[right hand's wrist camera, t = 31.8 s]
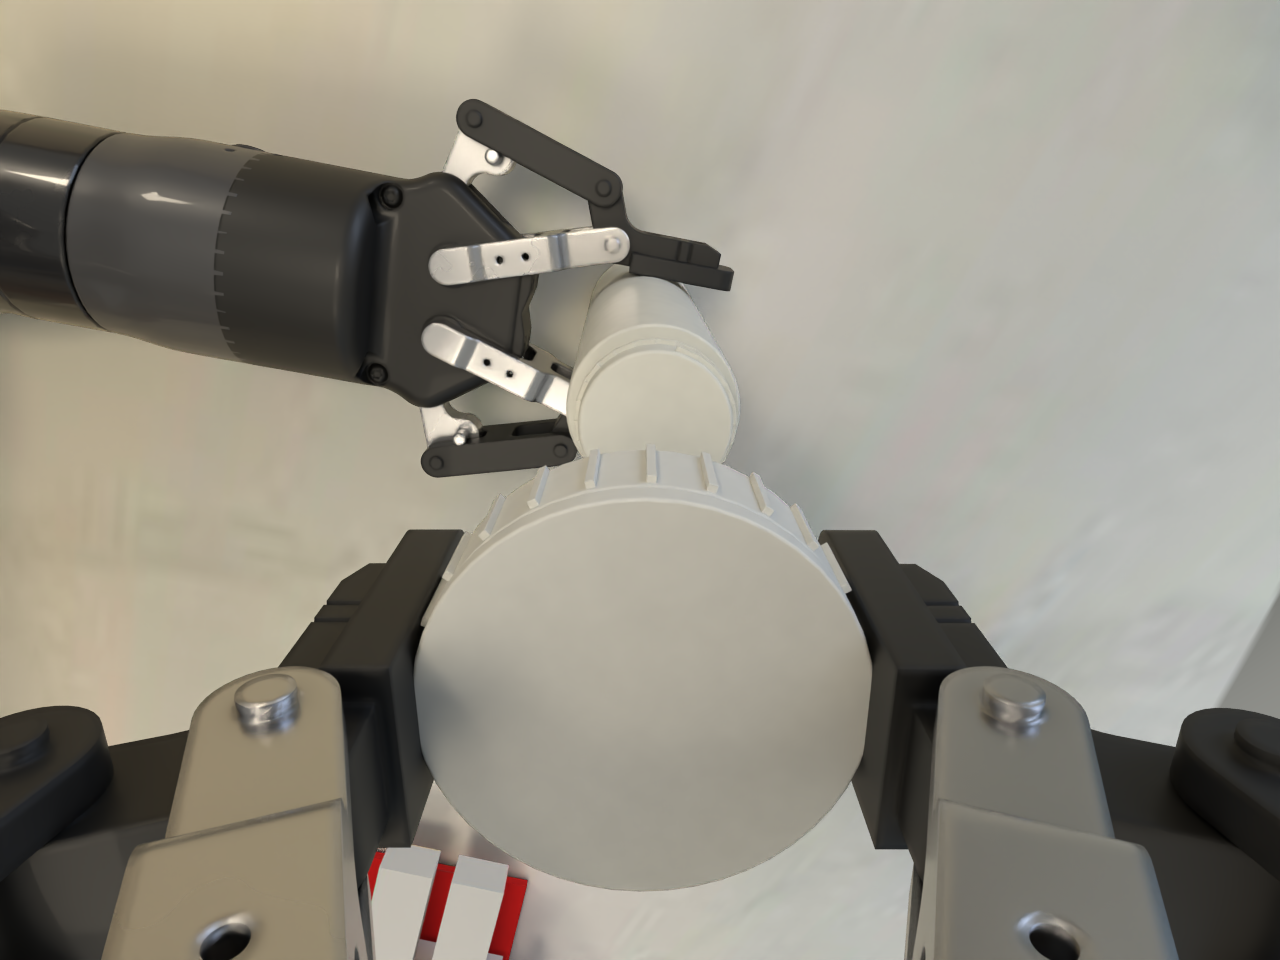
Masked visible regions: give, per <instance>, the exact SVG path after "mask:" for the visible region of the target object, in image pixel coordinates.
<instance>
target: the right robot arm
mask: <svg viewBox="0 0 1280 960" xmlns="http://www.w3.org/2000/svg"><path fill="white" fill-rule="evenodd" d="M463 535H464V532H463V531H462V530H408V531H407V532H406V534H405V535H404V537H403V538H402V540H401V541H400V543H399V544H398V546H397V547H396V549H395V550H394V552H393V554H392V555H391V557H390V558H389V560H388V561H387V563H369V564H368V565H366V566H364V567H363V568H361V569H360V570H358V571H356V572H355V573H353V574H352V575H350V576H348V577H347V578H345V579H344V580H342V581H341V582H340V584H339V585H338V586H337V588H336V589H335V590H334V592H333V593H332V595H331V596H330V597H329V599H328V600H327V605H323V607H322V608H321V610H320V611H319V612H318V614H317V615H316V616H315V618H314V622H311V623H310V625H309V626H308V627H307V629H306V630H305V631H304V633H303V634H302V635H301V637H300V638H299V639H298V641H297V642H296V644H295V645H294V646H293V648H292V649H291V650H290V652H289V653H288V654H287V656H286V657H285V659H284V660H283V661H282V663H281V664H280V665H279V667H278V668H271V669H266V670H262V671H258V672H255V673H251V674H248V675H245V676H243V677H240V678H238V679H235V680H233V681H231V682H229V683H227V684H225V685H224V686H222V687H220V688H219V689H217V690H215V691H214V692H213V693H212V694H210V695H209V696H208V697H206V698H205V699H204V700H203V702H202V703H201V704H200V705H199V706H198V708H197V709H196V710H195V712H194V715H193V717H192V720H191V725H190V729H189V730H187V731H183V732H179V733H174V734H170V735H165V736H160V737H154V738H149V739H144V740H139V741H134V742H129V743H123V744H118V745H113V746H108V744H107V741H106V737H105V733H104V730H103V726H102V723H101V720H100V718H99V717H98V716H97V715H96V714H95V713H94V712H92V711H90V710H88V709H85V708H81V707H75V706H51V707H42V708H36V709H31V710H26V711H22V712H19V713H15V714H11V715H8V716H5V717H2V718H0V960H376V954H375V941H374V928H373V916H372V903H371V892H370V885H369V879H368V872H369V869H370V867H371V864H372V861H373V859H374V856H375V854H376V851H377V849H378V848H411V845H412V842H413V839H414V836H415V834H416V831H417V828H418V825H419V822H420V819H421V816H422V813H423V810H424V807H425V804H426V801H427V798H428V795H429V792H430V789H431V786H432V783H433V781H434V778H433V776H432V774H431V772H430V770H429V768H428V766H427V764H426V762H425V760H424V757H423V754H422V750H421V742H420V734H419V725H418V716H417V706H416V697H415V688H414V676H413V671H414V661H415V656H416V653H417V649H418V646H419V643H420V639H421V636H422V633H423V630H424V628H425V627H423V626H421V620H422V617H423V615H424V613H425V611H426V609H427V607H428V605H429V603H430V601H431V599H432V597H433V595H434V593H435V591H436V589H437V587H438V585H439V583H440V581H441V579H442V576H443V574H444V572H445V570H446V568H447V566H448V564H449V562H450V560H451V558H452V556H453V554H454V552H455V550H456V548H457V546H458V544H459V542H460V540H461V538H462V536H463ZM818 542H819V544H820V545H822V544H824V543H828V545H829V547H830V549H831V551H832V553H833V555H834V556H835V558H836V560H837V562H838V564H839V566H840V568H841V570H842V572H843V574H844V576H845V578H846V580H847V582H848V583H849V585H850V587H851V589H852V590H851V591H850V592H848V593H846V596H847V599H848V600H849V602H850V604H851V606H852V608H853V610H854V612H855V615H856V617H857V619H858V621H859V623H860V625H861V627H862V629H863V631H864V635H865V637H866V641H867V645H868V649H869V653H870V656H871V660H872V681H871V691H870V700H869V709H868V718H867V727H866V736H865V745H864V751H863V756H862V759H861V762H860V764H859V767H858V768H857V770H856V772H855V774H854V776H853V778H852V780H851V781H852V784H853V787H854V790H855V793H856V795H857V798H858V801H859V804H860V807H861V810H862V813H863V816H864V818H865V821H866V824H867V827H868V830H869V833H870V836H871V839H872V841H873V844H874V847H875V849H909V852H910V854H911V857H912V859H913V862H914V865H913V872H912V879H911V885H910V892H909V903H908V916H907V928H906V941H905V954H904V960H1280V719H1277V718H1274V717H1271V716H1268V715H1264V714H1260V713H1256V712H1251V711H1246V710H1240V709H1231V708H1211V709H1203V710H1200V711H1196V712H1194V713H1192V714H1190V715H1188V716H1187V717H1186V718H1185V719H1184V721H1183V723H1182V726H1181V729H1180V733H1179V737H1178V740H1177V744H1176V747H1172V746H1167V745H1162V744H1157V743H1151V742H1146V741H1141V740H1136V739H1131V738H1126V737H1121V736H1115V735H1111V734H1107V733H1102V732H1099V731H1095V730H1092V729H1090V725H1089V720H1088V717H1087V715H1086V712H1085V710H1084V709H1083V708H1082V706H1081V705H1080V704H1079V703H1078V702H1077V701H1076V699H1075V698H1074V697H1072V696H1071V695H1070V694H1068V693H1067V692H1066V691H1065V690H1063V689H1061V688H1060V687H1058V686H1056V685H1055V684H1053V683H1051V682H1049V681H1047V680H1045V679H1042V678H1040V677H1037V676H1035V675H1032V674H1029V673H1025V672H1022V671H1018V670H1014V669H1009V668H1007V666H1006V665H1005V664H1004V662H1003V661H1002V660H1001V658H1000V657H999V656H998V654H997V653H996V651H995V650H994V649H993V647H992V646H991V645H990V643H989V642H988V641H987V639H986V638H985V637H984V635H983V634H982V633H981V631H980V630H979V629H978V627H977V626H976V625H975V623H971V618H970V617H969V615H968V614H967V613H966V611H965V610H964V609H963V607H962V606H959V605H958V600H957V599H956V598H955V596H954V595H953V594H952V592H951V591H950V590H949V588H948V587H947V586H946V584H945V583H944V582H943V581H942V580H940V579H939V578H937V577H935V576H934V575H932V574H931V573H929V572H927V571H926V570H924V569H922V568H921V567H919V566H918V565H916V564H899V563H898V562H897V560H896V559H895V557H894V556H893V554H892V553H891V551H890V550H889V548H888V547H887V545H886V544H885V542H884V541H883V539H882V538H881V536H880V535H879V533H878V532H877V531H875V530H823V531H822V532H821V533H820V536H819V540H818Z"/></svg>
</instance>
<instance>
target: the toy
mask: <svg viewBox="0 0 1280 960" xmlns="http://www.w3.org/2000/svg"><path fill="white" fill-rule="evenodd" d="M440 854H441V851H440V850H435V849H431V848H426V847H421V846H417V845H411V848H387V850H386V852H385V853H380V852H376V854H375V856H374V859H373V861H372V864H371V867H370V869H369V872H368V879H369V885H370V892H371V903H372V916H373V928H374V941H375V954H376V960H509V956H510V952H511V948H512V944H513V940H514V936H515V932H516V928H517V924H518V919H519V915H520V911H521V907H522V903H523V899H524V895H525V891H526V887H527V880H524V879H519V878H513V877H508V876H507V874H508V868H509V865H506V864H501V863H497V862H492V861H487V860H482V859H478V858H473V857H468V856H464V855H459V857H458V861H457V864H456V867H455V866H449V865H444V864H439V863H438V862H439V858H440Z"/></svg>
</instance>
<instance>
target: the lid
mask: <svg viewBox="0 0 1280 960" xmlns="http://www.w3.org/2000/svg"><path fill="white" fill-rule="evenodd" d="M851 590H852V589H851V587H850V585H849V583H848V582H847V580H846V578H845V576H844V574H843V572H842V570H841V568H840V566H839V564H838V562H837V560H836V558H835V556H834V555H833V553H832V551H831V549H830V547H829V545H828V543H824V544H822V545H820V544H819V542H818V541H817V539H816V537H815V536H814V534H813V532H812V530H811V528H810V526H809V524H808V522H807V520H806V518H805V516H804V514H803V512H802V509H801V508H800V507H799V506H798V505H797V504H796V503H795V504H794V505H793V506H791V507H790V506H789V505H787V504H786V503H785V502H784V501H783V500H782V499H781V498H780V497H778V496H777V495H776V494H775V493H774V492H772V491H771V490H769V489H768V488H766V487H765V486H764V484H763V482H762V479H761V477H760V476H759V475H758V474H756V473H754V472H753V473H752V474H751V475H750V477H749V476H747V475H745V474H742V473H740V472H738V471H736V470H734V469H732V468H730V467H728V466H725V465H722V464H720V463H717V462H714V461H712V459H711V455H710V454H709V453H705V452H701V455H700V457H697V456H692V455H687V454H682V453H677V452H670V451H656V450H655V444H646V450H630V451H615V452H610V453H604V454H600V450H599V448H597V449H593V450H590V454H589V456H588V457H585V458H582V459H578V460H575V461H572V462H569V463H566V464H562V465H560V466H558V467H556V468H554V469H552V470H549V469H548V468H547V466H546V465H545V466H543V467H541V468H539V469H538V472H537V474H536V477H535V478H534V479H532V480H530V481H529V482H527V483H526V484H524V485H522V486H521V487H519V488H518V489H516V490H515V491H513V492H512V493H511V494H510V495H509V496H507V497H506V498H505V497H504V496H503V495H502V494H499V495H498V496H497V497H496V498H495V499H494V501H493V504H492V506H491V508H490V510H489V512H488V514H487V516H486V517H485V519H484V520H483V521H482V522H481V523H480V524H479V525H478V526H477V528H476V529H475V531H474V532H473V534H470V533H469V532H467V531H466V532H465V533H464V535H463V536H462V538H461V540H460V542H459V544H458V546H457V548H456V550H455V552H454V554H453V556H452V558H451V560H450V562H449V564H448V566H447V568H446V570H445V572H444V574H443V576H442V579H441V581H440V583H439V585H438V587H437V589H436V591H435V593H434V595H433V597H432V599H431V601H430V603H429V605H428V607H427V609H426V611H425V613H424V615H423V617H422V620H421V626H423V627H425V628H424V630H423V633H422V636H421V639H420V643H419V646H418V649H417V653H416V656H415V661H414V671H413V676H414V688H415V697H416V706H417V716H418V725H419V734H420V742H421V750H422V754H423V757H424V760H425V762H426V764H427V766H428V768H429V770H430V772H431V774H432V776H433V778H434V780H435V782H436V784H437V785H438V787H439V788H440V790H441V791H442V793H443V794H444V795H445V797H446V798H447V800H448V801H449V803H450V804H451V805H452V806H453V808H454V809H455V810H456V811H457V812H458V813H459V814H460V815H461V816H462V818H463V819H464V820H465V821H466V822H467V823H468V824H469V825H470V826H471V827H472V828H474V829H475V830H476V831H477V832H478V833H479V834H480V835H482V836H483V837H484V838H485V839H486V840H487V841H489V842H490V843H492V844H493V845H495V846H496V847H498V848H499V849H501V850H502V851H504V852H505V853H506V854H508V855H509V856H511V857H513V858H515V859H517V860H519V861H521V862H523V863H525V864H527V865H528V866H530V867H532V868H534V869H537V870H539V871H542V872H545V873H547V874H550V875H552V876H555V877H557V878H560V879H564V880H568V881H571V882H575V883H579V884H582V885H587V886H593V887H599V888H605V889H611V890H625V891H663V890H673V889H680V888H687V887H694V886H698V885H703V884H707V883H711V882H715V881H719V880H722V879H725V878H728V877H730V876H733V875H736V874H739V873H741V872H744V871H747V870H749V869H751V868H753V867H755V866H757V865H759V864H761V863H763V862H765V861H767V860H769V859H771V858H773V857H774V856H776V855H777V854H779V853H781V852H782V851H784V850H785V849H787V848H788V847H790V846H791V845H793V844H794V843H796V842H797V841H798V840H799V839H800V838H802V837H803V836H804V835H805V834H807V833H808V832H809V831H810V830H811V829H813V828H814V827H815V826H816V825H817V824H818V823H819V822H820V821H821V819H822V818H823V817H824V816H825V815H826V814H827V813H828V812H829V811H830V810H831V809H832V808H833V806H834V805H835V804H836V802H837V801H838V799H839V798H840V797H841V795H842V794H843V793H844V791H845V790H846V789H847V787H848V785H849V783H850V781H851V780H852V778H853V776H854V774H855V772H856V770H857V768H858V767H859V764H860V762H861V759H862V756H863V751H864V745H865V736H866V727H867V718H868V709H869V700H870V691H871V681H872V660H871V656H870V653H869V649H868V645H867V641H866V637H865V635H864V631H863V629H862V627H861V625H860V623H859V621H858V619H857V617H856V615H855V612H854V610H853V608H852V606H851V604H850V602H849V600H848V599H847V596H846V593H848V592H850V591H851Z"/></svg>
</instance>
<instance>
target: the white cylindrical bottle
mask: <svg viewBox="0 0 1280 960" xmlns="http://www.w3.org/2000/svg"><path fill="white" fill-rule="evenodd" d="M566 415H567V423H568V428H569V432H570V435H571V437H572V440H573V442H574V444H575V446H576V448H577V450H578V452H579V453H580V455H581V456H582V457H583V458H585V457H588V456H589V454H590V450H593V449H597V448H599V450H600V454H604V453H610V452H615V451H630V450H646V444H655V450H656V451H670V452H677V453H682V454H687V455H692V456H697V457H700V455H701V452H705V453H709V454H710V455H711V459H712V461H714V462H717V463H720V464H722V463H723V462H725V460H726V458H727V455H728V453H729V451H730V449H731V447H732V444H733V443H734V437H735V434H736V431H737V427H738V423H739V418H740V395H739V389H738V385H737V382H736V379H735V376H734V374H733V372H732V370H731V368H730V366H729V364H728V362H727V360H726V359H725V357H724V355H723V353H722V352H721V350H720V348H719V346H718V345H717V343H716V341H715V339H714V337H713V336H712V334H711V332H710V330H709V329H708V327H707V325H706V323H705V322H704V320H703V318H702V316H701V315H700V313H699V311H698V309H697V307H696V306H695V304H694V302H693V300H692V299H691V297H690V295H689V293H688V292H687V290H686V288H685V286H684V285H683V283H679V282H674V281H669V280H664V279H659V278H654V277H648V276H642V275H637V274H632V273H629V266H624V265H619V264H615V265H613V266H612V267H610V268H609V269H608V270H607V271H606V272H604V274H603V275H602V276H601V277H600V279H599V280H598V282H597V283H596V286H595V288H594V290H593V293H592V297H591V301H590V305H589V309H588V313H587V317H586V321H585V325H584V329H583V333H582V337H581V341H580V345H579V349H578V353H577V357H576V360H575V364H574V368H573V372H572V376H571V380H570V384H569V388H568V394H567V400H566Z"/></svg>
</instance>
